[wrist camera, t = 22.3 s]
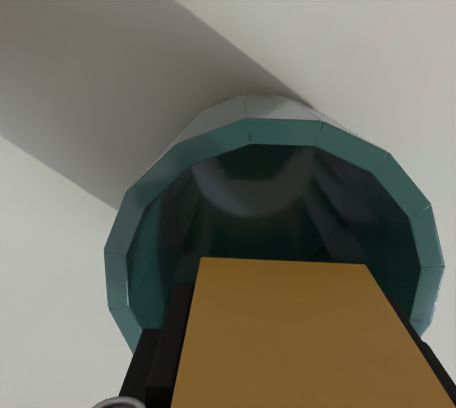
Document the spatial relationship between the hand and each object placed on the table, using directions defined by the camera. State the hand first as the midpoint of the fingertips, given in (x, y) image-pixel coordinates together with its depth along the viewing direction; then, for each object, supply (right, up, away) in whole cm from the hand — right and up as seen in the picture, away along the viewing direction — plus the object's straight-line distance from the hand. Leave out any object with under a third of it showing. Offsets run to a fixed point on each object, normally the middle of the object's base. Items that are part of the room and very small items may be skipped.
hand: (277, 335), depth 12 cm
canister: (0, +4, +12) cm, 13 cm away
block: (0, 0, 0) cm, 0 cm away
